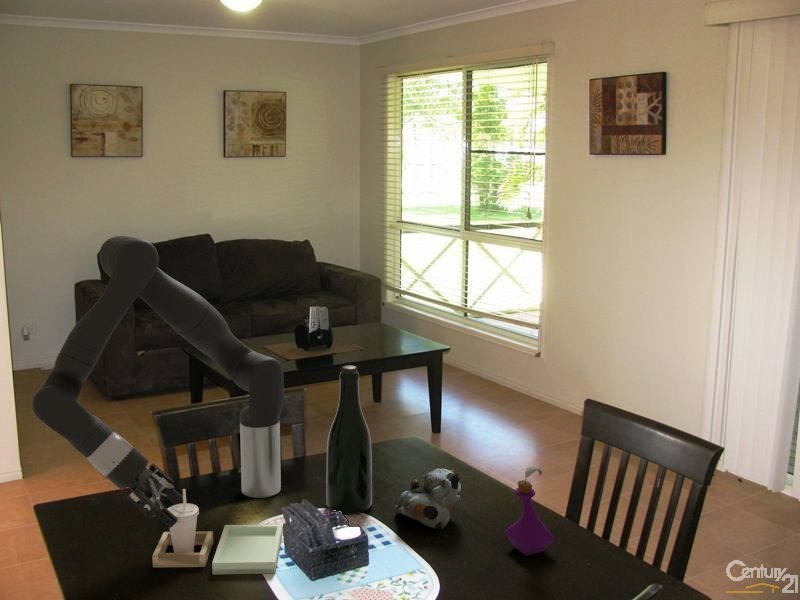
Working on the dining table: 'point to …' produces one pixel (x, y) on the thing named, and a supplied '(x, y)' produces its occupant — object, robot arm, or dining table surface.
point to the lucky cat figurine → (431, 498)
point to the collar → (183, 558)
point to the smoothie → (184, 526)
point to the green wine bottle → (349, 451)
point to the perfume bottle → (528, 522)
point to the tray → (248, 549)
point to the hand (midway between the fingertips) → (179, 514)
